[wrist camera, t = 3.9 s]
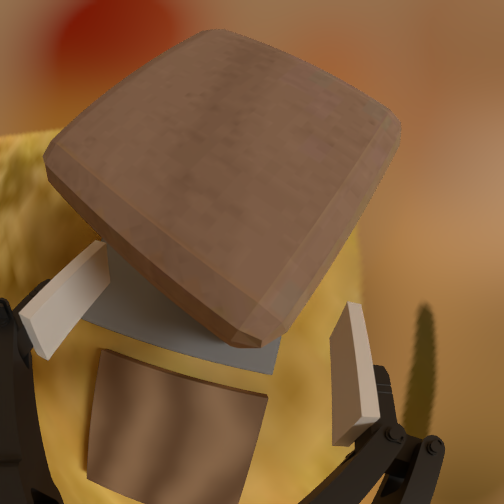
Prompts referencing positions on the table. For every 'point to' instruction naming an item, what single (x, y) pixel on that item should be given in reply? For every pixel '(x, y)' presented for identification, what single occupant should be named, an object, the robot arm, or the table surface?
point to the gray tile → (166, 321)
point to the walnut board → (170, 434)
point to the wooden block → (227, 177)
